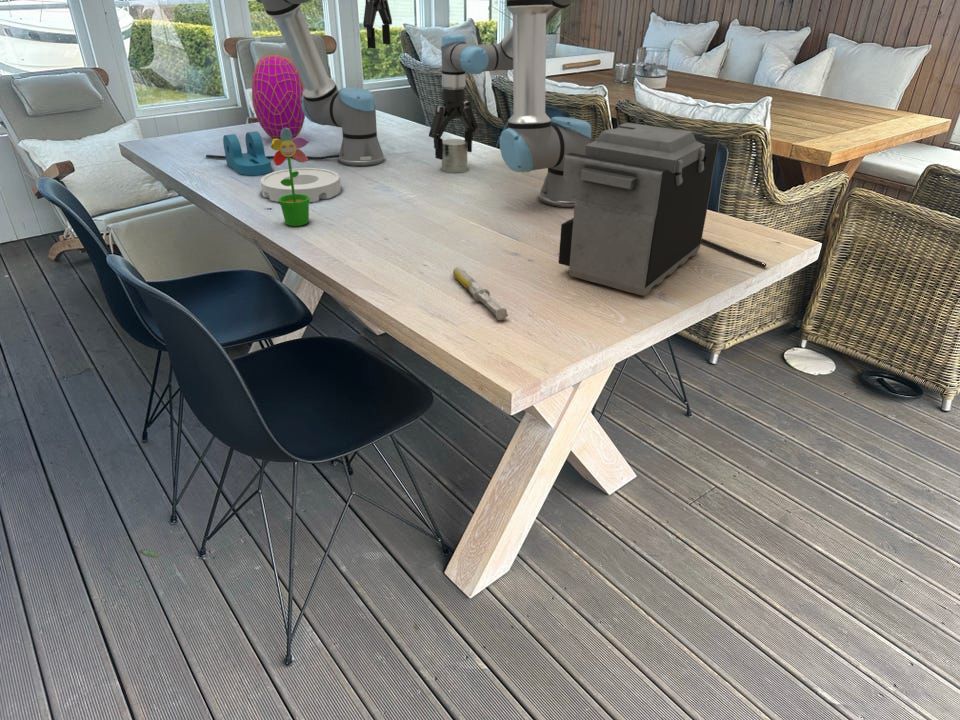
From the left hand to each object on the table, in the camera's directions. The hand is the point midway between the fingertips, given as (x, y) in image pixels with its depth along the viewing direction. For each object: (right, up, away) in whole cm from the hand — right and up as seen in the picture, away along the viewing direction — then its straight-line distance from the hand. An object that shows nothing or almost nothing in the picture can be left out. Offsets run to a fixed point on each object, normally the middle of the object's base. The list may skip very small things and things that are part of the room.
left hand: (379, 46), depth 251 cm
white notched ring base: (-17, -64, -43) cm, 79 cm away
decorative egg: (-39, -30, +14) cm, 51 cm away
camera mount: (-40, -51, -22) cm, 68 cm away
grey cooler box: (+72, -92, -90) cm, 148 cm away
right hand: (+28, -46, -22) cm, 58 cm away
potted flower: (-12, -78, -67) cm, 104 cm away
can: (+28, -51, -19) cm, 61 cm away
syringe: (+37, -102, -106) cm, 151 cm away
